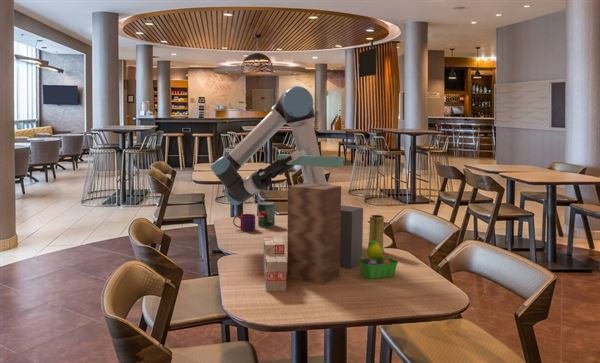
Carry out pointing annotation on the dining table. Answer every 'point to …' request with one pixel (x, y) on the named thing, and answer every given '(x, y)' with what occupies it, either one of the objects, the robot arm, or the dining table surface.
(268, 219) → the canned tomato
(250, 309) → the dining table surface
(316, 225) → the stand
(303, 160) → the bar
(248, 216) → the mug
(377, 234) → the vase
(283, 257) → the stack of blocks
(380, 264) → the fruit basket
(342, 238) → the step
